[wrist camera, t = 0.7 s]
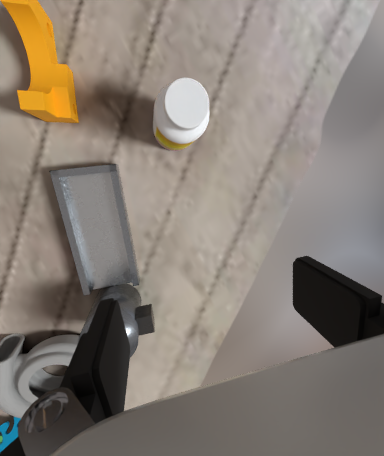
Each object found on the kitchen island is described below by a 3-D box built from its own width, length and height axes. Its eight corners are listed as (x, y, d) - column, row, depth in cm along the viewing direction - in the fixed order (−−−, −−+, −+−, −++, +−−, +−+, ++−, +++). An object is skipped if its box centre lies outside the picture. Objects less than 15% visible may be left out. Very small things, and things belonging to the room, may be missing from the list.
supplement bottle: (196, 149, 35) (220, 136, 23) (156, 153, 34) (159, 141, 22) (192, 104, 33) (216, 65, 21) (149, 107, 32) (149, 66, 20)
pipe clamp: (79, 123, 31) (61, 111, 25) (46, 122, 31) (20, 109, 24) (67, 25, 28) (43, -16, 22) (30, 21, 28) (-4, -23, 21)
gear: (59, 416, 41) (27, 495, 35) (66, 411, 46) (39, 479, 40) (-1, 405, 40) (-44, 485, 34) (13, 400, 45) (-23, 469, 39)
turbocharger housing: (101, 386, 45) (110, 325, 42) (96, 421, 39) (105, 352, 36) (4, 394, 40) (6, 326, 37) (-19, 435, 34) (-20, 357, 31)
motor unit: (56, 171, 32) (5, 169, 21) (129, 163, 34) (118, 158, 22) (98, 325, 40) (76, 387, 28) (155, 313, 41) (157, 367, 30)
